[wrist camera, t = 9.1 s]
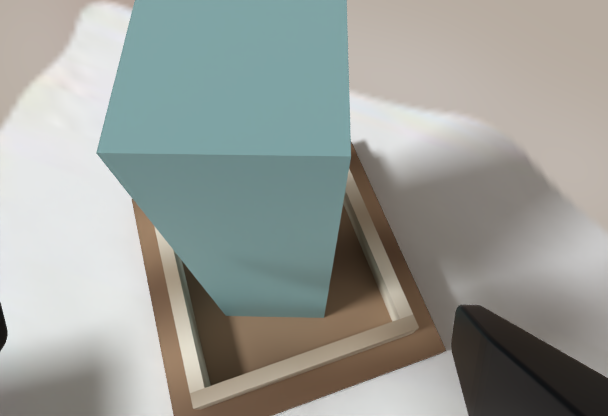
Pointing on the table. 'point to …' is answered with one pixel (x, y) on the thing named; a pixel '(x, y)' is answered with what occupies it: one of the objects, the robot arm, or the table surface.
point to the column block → (238, 143)
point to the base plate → (291, 323)
